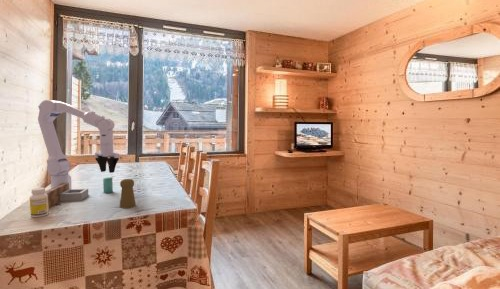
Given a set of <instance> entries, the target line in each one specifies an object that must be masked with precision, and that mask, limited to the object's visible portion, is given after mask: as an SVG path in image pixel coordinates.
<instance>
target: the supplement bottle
mask: <svg viewBox="0 0 500 289" xmlns="http://www.w3.org/2000/svg"><path fill="white" fill-rule="evenodd" d="M45 191H46V188H45V187H35V188H32V189H31V194H32V195H30V196H29V205H30V206H29V208H30V216H31V217H32V218H40V217H45V216H48V215H49V213H50V208H49V205H48V195H47V194H45Z"/></svg>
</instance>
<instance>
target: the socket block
mask: <svg viewBox="0 0 500 289" xmlns="http://www.w3.org/2000/svg"><path fill="white" fill-rule="evenodd" d="M88 196H89V188H72V189H68V190H66V191H64V192H62V193H61V194H60V201H59V202H70V201H71V202H72V201H83V200H84V199H86V198H87V197H88Z"/></svg>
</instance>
